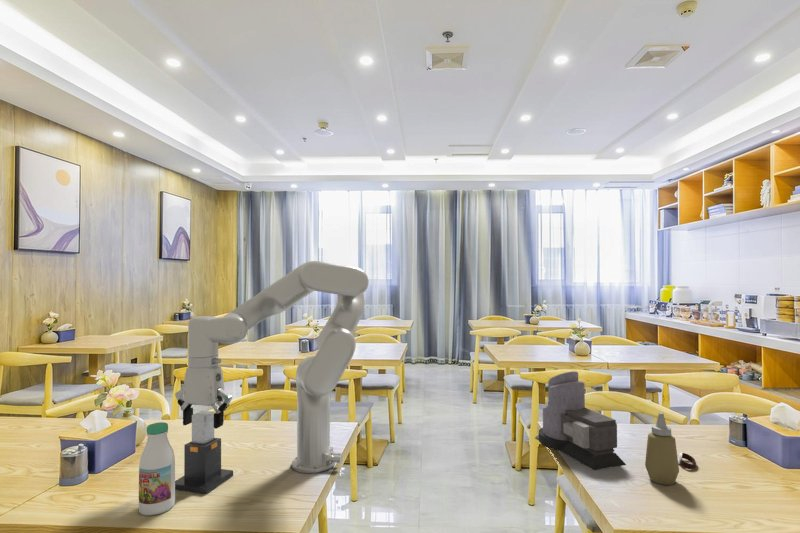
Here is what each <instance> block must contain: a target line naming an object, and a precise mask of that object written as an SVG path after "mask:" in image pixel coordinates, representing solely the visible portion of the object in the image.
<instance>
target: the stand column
mask: <svg viewBox="0 0 800 533" xmlns="http://www.w3.org/2000/svg"><path fill="white" fill-rule="evenodd" d="M214 413H215V411H210V410H201V411H198V412H195V413H193V415H192V423H191V441H192V444H194V445H203V446H205V445H207V444H209V443H211V442H212V441H214V438H215V428H214Z"/></svg>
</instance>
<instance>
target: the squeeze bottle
mask: <svg viewBox="0 0 800 533" xmlns="http://www.w3.org/2000/svg"><path fill="white" fill-rule="evenodd" d="M645 452H646V453H645V463H644V465H645V468H646V471H647V474H648V477H649V479H650V480H651V481H652V482H654V483H657V484H660V485H665V486H666V485H667V486H671V485H674V484H675V483H676V480H677V478H678V476H679V473H680V467H679V465H680V464H678V457H679V456H678V450H677V442H676V438H675V436H673V435H672V427H670V426H668V425H667V422H666V418H665V415H664V413H662V412H658V415H657V418H656V423H655V424H652V425H651V432H649V433H648V434H647V442H646V451H645Z"/></svg>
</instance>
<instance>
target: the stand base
mask: <svg viewBox="0 0 800 533" xmlns="http://www.w3.org/2000/svg"><path fill="white" fill-rule="evenodd" d="M183 447H184V450H183V452H184V455H183V456H184V460H183V461H184V467H183V468H184V469H183V471H184V472H183V474H184V475H183V476H181V477H179V478H178V479H175V491H179V492H187V493H188V492H189V493H194V494H195V493H196V494H202V495H209V493H212V491H213V490H215V489H217V488H218V487H220V486H221V485H222V484H224V483H226V482H227V481H228V480H229V479H231V478H233V477H234V470H232V469H224V468H222V437H221V438H220V437H214V441H212V442H211V443H209V444H207V445H205V446H203V445H194V444H192V440H191V441H189V442H187V443H185V444H184V446H183Z"/></svg>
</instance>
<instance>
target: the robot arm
mask: <svg viewBox="0 0 800 533" xmlns="http://www.w3.org/2000/svg"><path fill="white" fill-rule="evenodd" d="M369 281H370V280H369V277H368V275H367V273H366V271H364V270H363V269H361V268H359V267H356V266H348V265H342V264H336V263H330V262H329V263H328V262H324V261H319V260H318V261H317V260H312V261H307V262H304V263H302V264H300V265H299V266H297V267H295V268H294V269H293V270H291V271H290V272H288V273H287V274H285V275H284V276H282V277H281V278H279V279H277V280H276V281H274V282H273V283H271V284H270V285H269V286H267V287H266V288H264V289H261V291H260V292H258V293H257V294H256V295H254V296H253V297H251V298H249V299H248V300H246V301H245V302H242V303H241V304H240V305H239V306H237V307H236V308H234V309H233V310H231V311H229V312H228V313H226V314H225V315H224V316H223V317H215V316H211V315H205V316H194V317H191V318H190V319H189V321H188V326H187V328H188V330H187V332H188V333H187V334H188V335H187V338H188V339H187V340H188V341H187V344H188V346H187V351H188V352H187V360H188V361H187V363H188V364H187V367H186V370H185V374H184V381H183V388H182V389H180V390H178V391H176V392H175V393H174V395H175V397H176V400H177V404H178V405H179V407H180V410H181V411H182V425H183V426H187V425H190V424H192V415H193V414H194V408H193V406H205V407H206V406H207V407H211V408H212V410H214V430H215V429H218V428H220V427H223V426H224V421H225V420H224V419H225V418H224V417H225V416H224V415H225V413H224V412H225V411H226V410H227V408H229V406H230V404H231V401H232V399H233V396H232V395H231V394H229V393H228V392H226V391H225V382H224V381H225V380H224V375H223V370H222V367H221V365H219V364H221V362H222V358H219V343H221V344H237V343H240V342H241V341H243V340H244V339H246V337H247V335H248V332H249V330H251V329H252V328H254V327H255V326H256V325H258V324H259V323H261V322H262V321H265V320H266V319H268V318H270V317H272V316H277V315H279V314H282V313H284V312H285V311H287V310H289V309H290V308H292V307H293V306H294V305H296V304H297V303H298V302H300V301H302V300H303V299H304V298H305V297H308V296H309V295H310V294H312V293H313V292H321V293H324V294H325V293H327V294H332V295H337V300H336V301H337V302H336V305H335V307H334V309H333V311H332V313H331V314H330V317H329V318H328V320H327V322H326V323H325V324H324V327H322V330H321V331H320V332H319V335H318V336H317V339H316V344H317V348H318V351H317V352H316V354H315V355H311V356H307V357H305V358H303V359H302V360H301V361H300V362H299V364H298V365H297V367H296V371H295V384H296V398H297V399H296V401H297V404H296V405H297V406H296V407H297V408H296V409H297V411H296V414H297V415H296V418H297V419H296V420H297V421H296V422H297V423H296V431H297V432H296V434H297V435H296V436H297V437H296V442H297V444H296V445H297V446H296V449H297V450H296V451H297V452H296V453H297V454H296V455H297V456H296V457H294V458H293V460H291V468H292V469H293V470H294V471H295V472H298V473H303V474H316V473H322V472H325V471H328V470H330V469H331V468H333V467H334V465H335V464H336V463H337V464H341V463H342V462H343V456H342V452H335V451H334V447H333V446H331V402H330V401H331V396H330V393H331V392H332V391H333V390H334V389H335V388H336V386H337V385H338V383H339V381H340V380H341V378H342V376H343V374H344V373H345V371H346V370H347V368H348V365H350V362H351V360H352V359H353V357H354V354H355V352H356V346H357V345H356V344H357V343H356V338H355V336H354V332H355V331H356V328H358V325H359V323H360V320H361V318H362V316H363V314H364V310H365V292H366V291H367V289H368V287H369Z"/></svg>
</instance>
